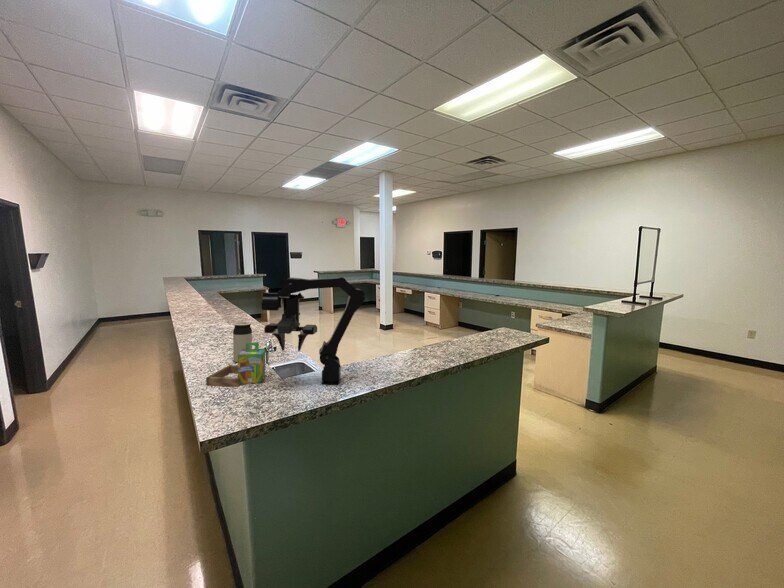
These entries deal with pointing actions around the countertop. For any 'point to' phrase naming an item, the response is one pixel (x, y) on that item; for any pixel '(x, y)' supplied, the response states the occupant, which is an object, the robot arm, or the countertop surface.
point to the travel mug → (241, 337)
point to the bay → (220, 378)
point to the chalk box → (251, 364)
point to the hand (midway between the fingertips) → (291, 350)
